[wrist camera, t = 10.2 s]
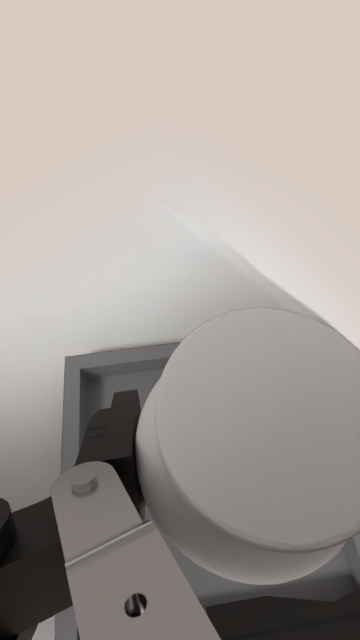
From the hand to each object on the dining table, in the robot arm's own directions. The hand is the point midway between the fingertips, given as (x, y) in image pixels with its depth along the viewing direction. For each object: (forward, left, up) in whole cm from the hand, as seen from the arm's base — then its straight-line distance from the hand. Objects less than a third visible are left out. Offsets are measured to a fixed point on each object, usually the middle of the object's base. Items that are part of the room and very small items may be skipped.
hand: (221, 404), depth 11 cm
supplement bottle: (0, -2, -4) cm, 5 cm away
